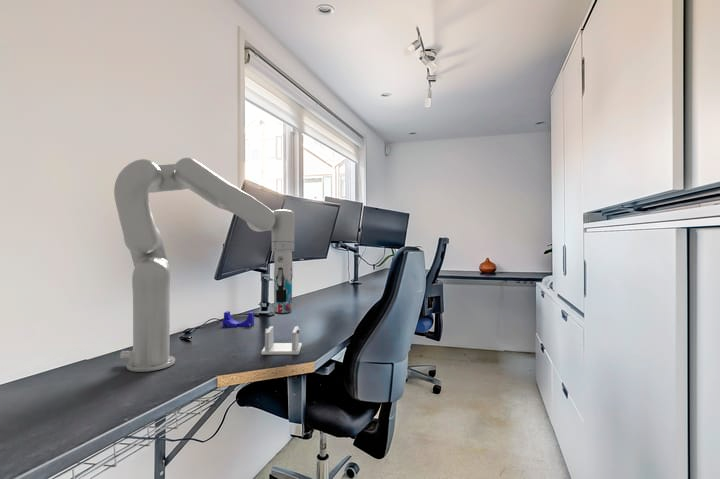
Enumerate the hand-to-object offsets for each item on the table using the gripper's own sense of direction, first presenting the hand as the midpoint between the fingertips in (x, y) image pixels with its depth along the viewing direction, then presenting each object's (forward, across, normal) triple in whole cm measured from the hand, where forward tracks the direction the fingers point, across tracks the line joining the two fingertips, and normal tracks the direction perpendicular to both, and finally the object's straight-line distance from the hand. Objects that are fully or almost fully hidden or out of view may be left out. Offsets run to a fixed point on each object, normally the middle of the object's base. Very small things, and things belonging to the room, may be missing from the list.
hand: (282, 299), depth 132 cm
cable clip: (+17, +36, +24) cm, 47 cm away
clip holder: (+17, 0, 0) cm, 17 cm away
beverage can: (+5, 0, 0) cm, 5 cm away
